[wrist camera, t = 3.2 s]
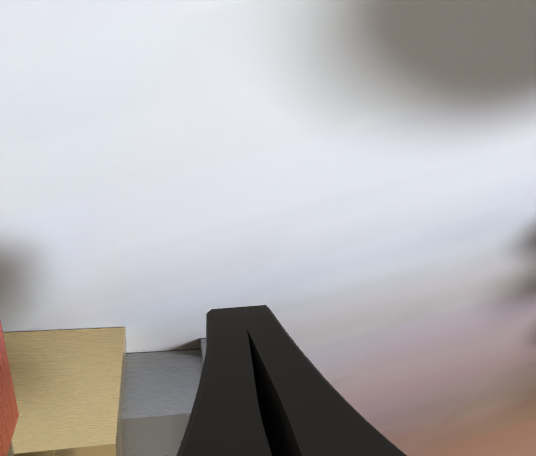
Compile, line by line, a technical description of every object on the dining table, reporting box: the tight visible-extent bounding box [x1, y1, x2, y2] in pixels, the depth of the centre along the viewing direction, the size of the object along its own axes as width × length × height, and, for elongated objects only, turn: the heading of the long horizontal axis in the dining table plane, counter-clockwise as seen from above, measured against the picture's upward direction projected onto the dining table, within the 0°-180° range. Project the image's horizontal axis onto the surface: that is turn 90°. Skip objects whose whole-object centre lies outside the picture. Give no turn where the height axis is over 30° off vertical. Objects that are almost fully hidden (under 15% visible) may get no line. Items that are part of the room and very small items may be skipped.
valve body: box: [3, 327, 206, 456], centre depth 17 cm, size 6×14×6 cm, turn 82°
